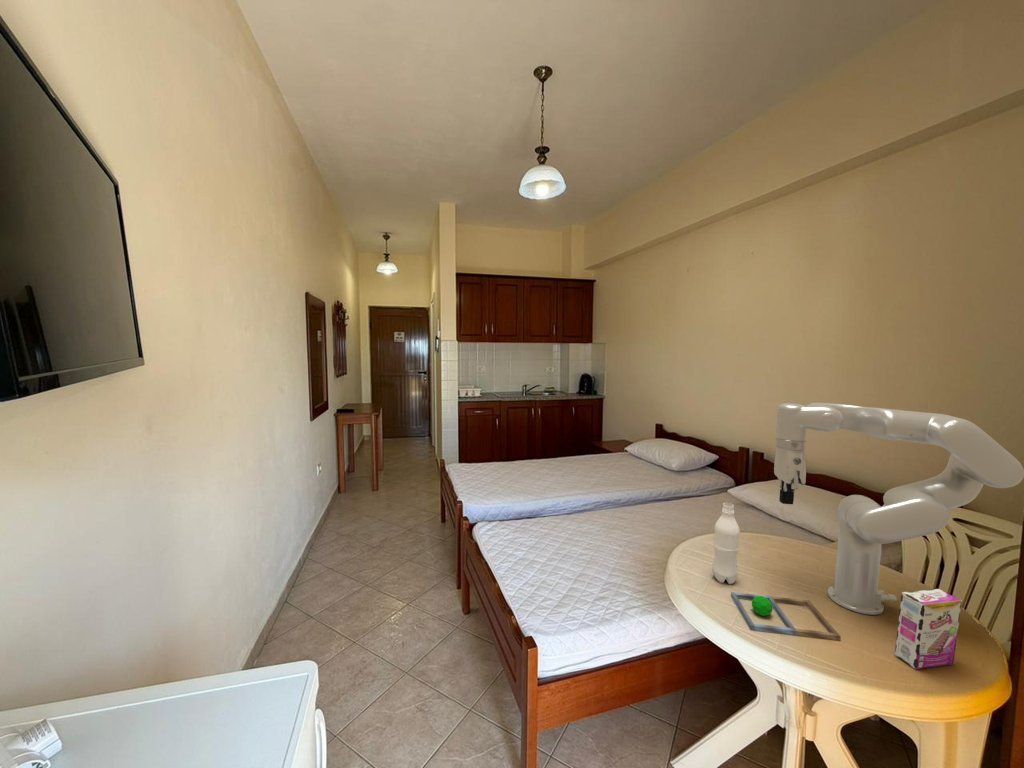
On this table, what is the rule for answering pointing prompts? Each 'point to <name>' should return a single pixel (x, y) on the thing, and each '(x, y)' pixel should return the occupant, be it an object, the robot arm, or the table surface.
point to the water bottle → (726, 546)
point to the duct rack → (789, 627)
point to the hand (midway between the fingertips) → (786, 502)
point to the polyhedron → (762, 605)
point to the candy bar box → (927, 628)
